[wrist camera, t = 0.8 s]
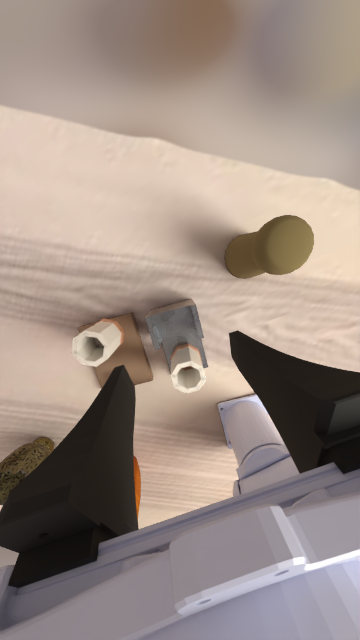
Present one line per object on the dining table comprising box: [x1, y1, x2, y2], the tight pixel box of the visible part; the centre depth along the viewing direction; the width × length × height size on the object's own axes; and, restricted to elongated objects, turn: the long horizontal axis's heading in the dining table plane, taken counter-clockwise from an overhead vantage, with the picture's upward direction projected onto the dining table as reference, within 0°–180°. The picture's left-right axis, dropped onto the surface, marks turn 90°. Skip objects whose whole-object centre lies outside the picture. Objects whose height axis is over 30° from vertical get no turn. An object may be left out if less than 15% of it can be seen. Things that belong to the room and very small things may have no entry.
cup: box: [0, 437, 54, 505], centre depth 29 cm, size 8×7×8 cm
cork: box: [225, 215, 314, 279], centre depth 21 cm, size 6×6×11 cm
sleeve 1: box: [72, 319, 124, 367], centre depth 25 cm, size 4×4×6 cm
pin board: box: [78, 313, 153, 388], centre depth 27 cm, size 11×8×4 cm
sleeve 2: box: [171, 344, 206, 393], centre depth 27 cm, size 4×4×6 cm
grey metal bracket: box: [145, 299, 208, 372], centre depth 26 cm, size 11×6×6 cm, turn 15°
